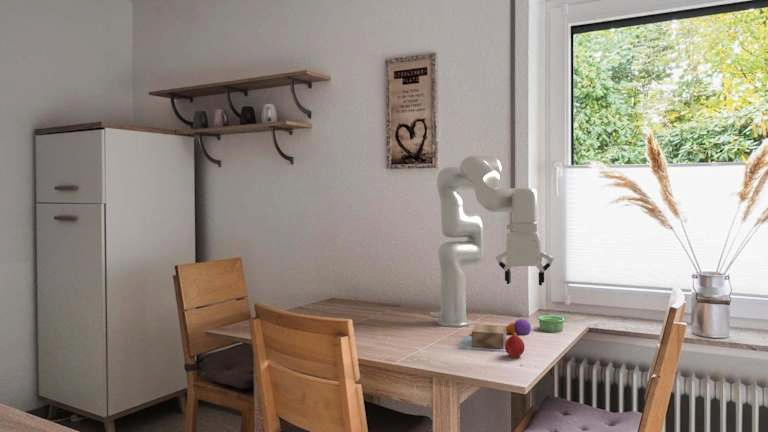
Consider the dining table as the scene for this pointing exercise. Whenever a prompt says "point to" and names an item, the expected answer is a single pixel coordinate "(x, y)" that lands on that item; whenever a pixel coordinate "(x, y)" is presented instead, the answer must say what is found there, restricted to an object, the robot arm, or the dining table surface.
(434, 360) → the dining table surface
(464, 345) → the blueprint mat
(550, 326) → the ramekin
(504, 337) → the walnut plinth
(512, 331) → the maraca
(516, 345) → the onion
